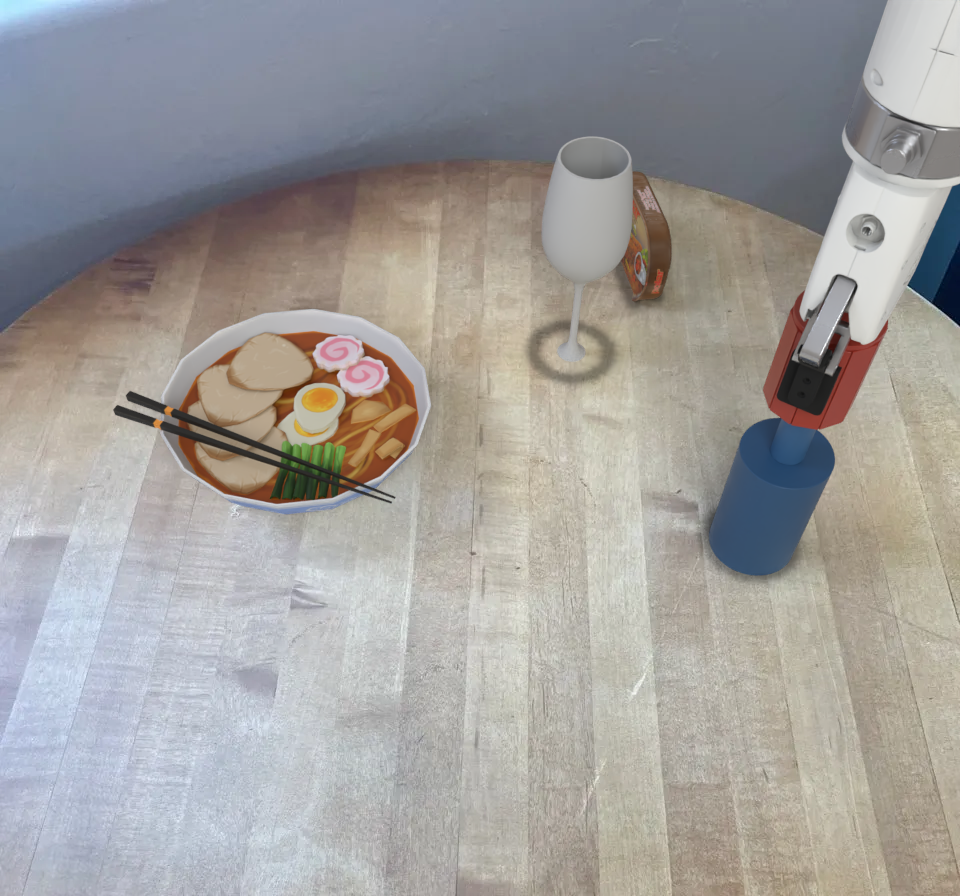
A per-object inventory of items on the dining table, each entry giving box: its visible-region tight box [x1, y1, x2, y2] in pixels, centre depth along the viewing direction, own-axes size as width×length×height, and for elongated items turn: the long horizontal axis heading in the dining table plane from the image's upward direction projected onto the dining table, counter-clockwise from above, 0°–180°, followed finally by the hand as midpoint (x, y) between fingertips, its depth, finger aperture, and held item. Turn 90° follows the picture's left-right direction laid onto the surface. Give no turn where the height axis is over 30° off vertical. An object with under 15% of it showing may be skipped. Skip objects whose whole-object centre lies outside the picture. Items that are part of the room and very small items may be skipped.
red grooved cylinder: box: [762, 289, 889, 431], centre depth 67 cm, size 6×6×7 cm
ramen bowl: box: [112, 308, 432, 515], centre depth 86 cm, size 25×23×8 cm
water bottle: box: [708, 417, 836, 577], centre depth 78 cm, size 7×7×18 cm
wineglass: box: [540, 136, 633, 363], centre depth 88 cm, size 8×8×21 cm
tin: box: [620, 170, 673, 302], centre depth 101 cm, size 15×3×8 cm, turn 10°
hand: (818, 371), depth 68 cm, fingers closed on red grooved cylinder, 6 cm apart
